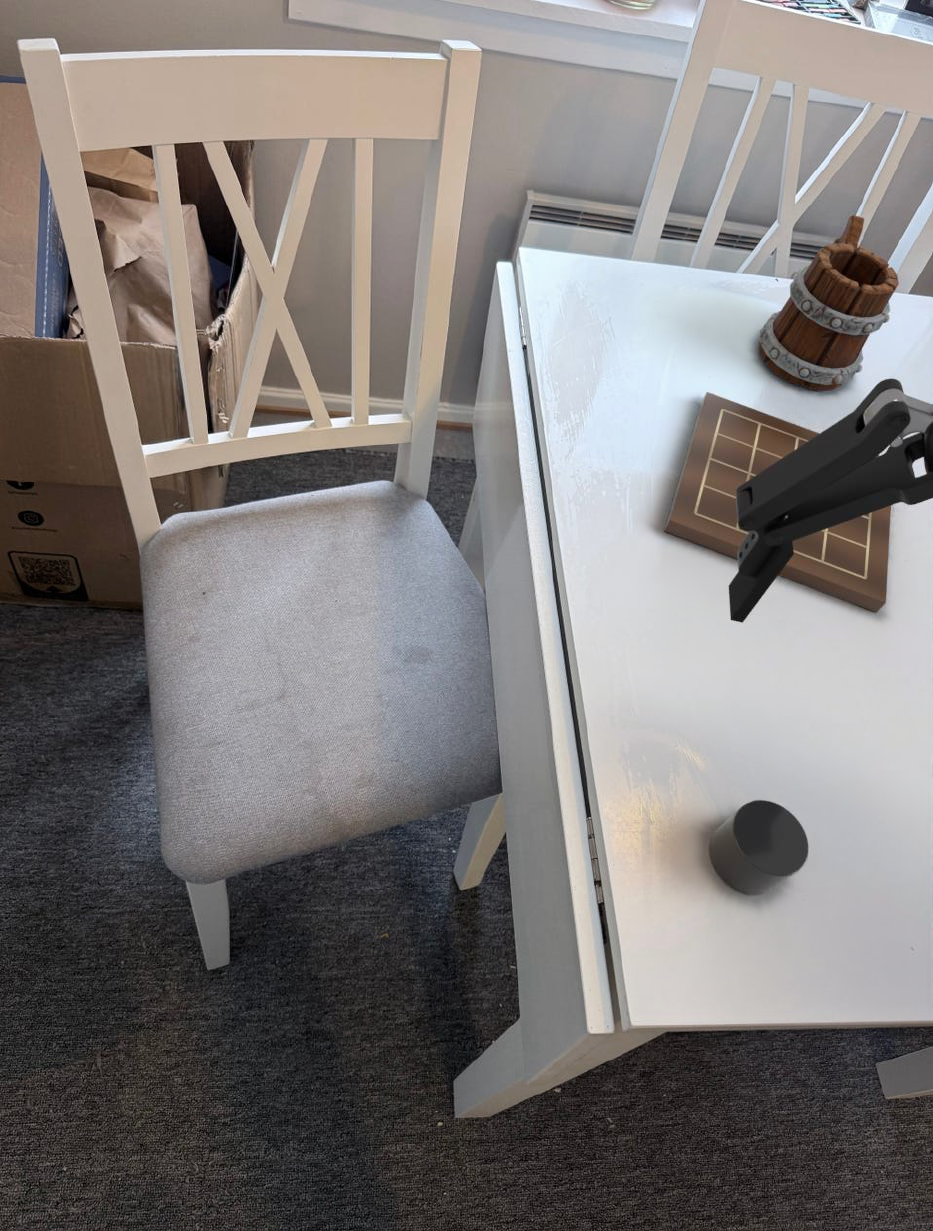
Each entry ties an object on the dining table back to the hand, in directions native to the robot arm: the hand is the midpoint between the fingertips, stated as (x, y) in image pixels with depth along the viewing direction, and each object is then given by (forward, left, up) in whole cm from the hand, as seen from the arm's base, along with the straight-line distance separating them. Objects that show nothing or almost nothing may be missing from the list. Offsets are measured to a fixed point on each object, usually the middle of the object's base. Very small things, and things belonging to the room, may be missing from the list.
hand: (840, 628), depth 52 cm
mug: (+33, -43, -15) cm, 56 cm away
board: (+17, -23, -15) cm, 32 cm away
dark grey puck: (-7, +6, -15) cm, 18 cm away
